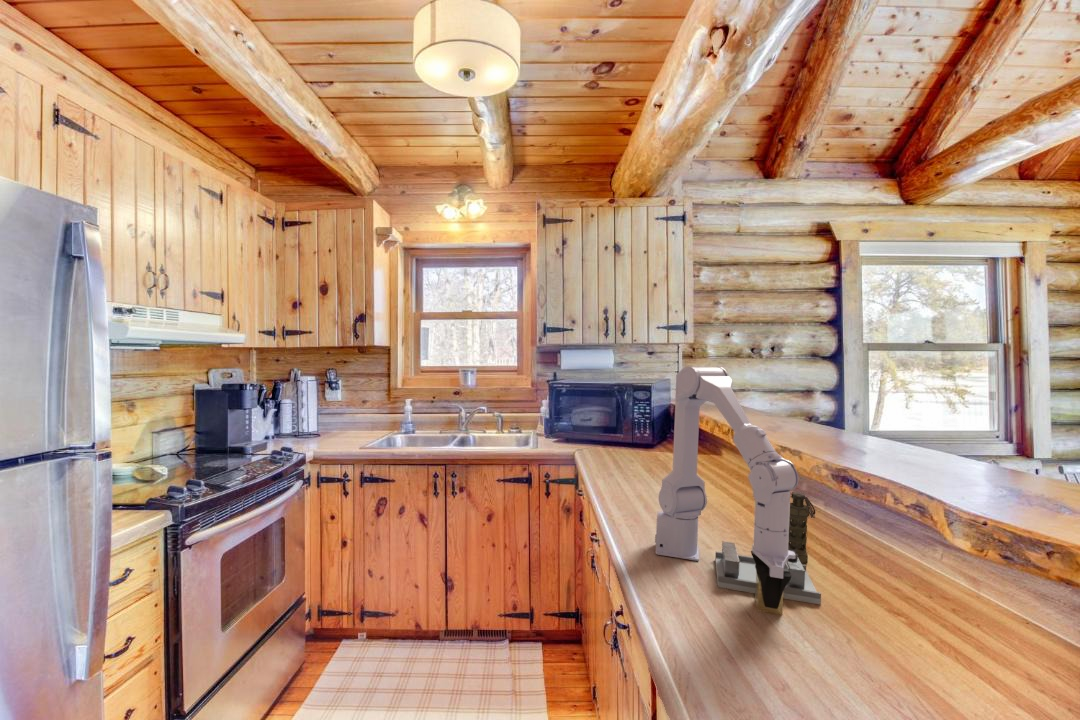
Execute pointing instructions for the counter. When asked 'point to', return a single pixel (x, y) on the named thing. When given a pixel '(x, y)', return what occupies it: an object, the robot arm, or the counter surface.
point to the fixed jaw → (730, 560)
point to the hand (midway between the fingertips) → (768, 599)
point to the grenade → (799, 524)
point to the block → (761, 603)
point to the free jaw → (795, 572)
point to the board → (748, 581)
